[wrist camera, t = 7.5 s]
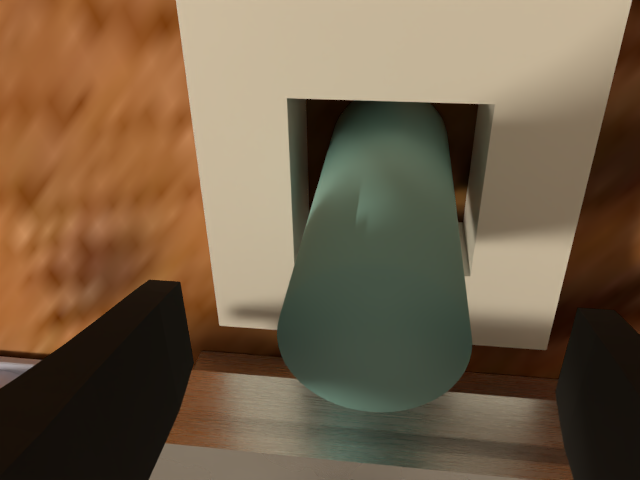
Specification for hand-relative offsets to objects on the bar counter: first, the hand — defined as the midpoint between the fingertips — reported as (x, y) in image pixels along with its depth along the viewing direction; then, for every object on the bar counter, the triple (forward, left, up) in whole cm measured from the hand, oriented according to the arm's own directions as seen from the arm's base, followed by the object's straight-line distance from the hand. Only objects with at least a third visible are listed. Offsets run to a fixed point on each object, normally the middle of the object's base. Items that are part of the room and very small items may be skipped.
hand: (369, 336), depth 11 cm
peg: (0, 0, -9) cm, 9 cm away
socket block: (0, 0, -9) cm, 9 cm away
